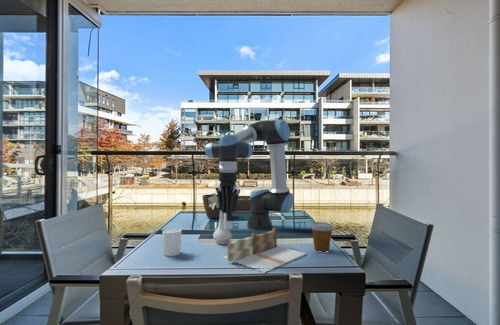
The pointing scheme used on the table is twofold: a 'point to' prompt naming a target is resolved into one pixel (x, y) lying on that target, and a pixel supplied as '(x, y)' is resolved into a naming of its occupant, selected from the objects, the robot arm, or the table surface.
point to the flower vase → (220, 234)
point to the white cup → (171, 241)
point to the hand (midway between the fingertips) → (226, 228)
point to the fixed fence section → (264, 241)
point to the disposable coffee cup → (322, 236)
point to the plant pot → (208, 210)
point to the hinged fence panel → (240, 248)
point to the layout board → (269, 258)
